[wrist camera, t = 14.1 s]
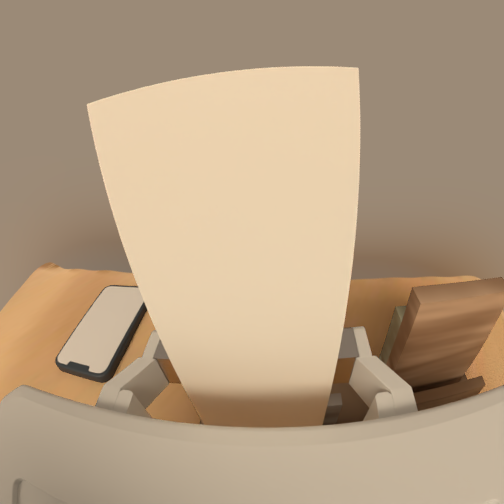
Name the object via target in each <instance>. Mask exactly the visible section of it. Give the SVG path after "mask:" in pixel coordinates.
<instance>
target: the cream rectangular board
mask: <svg viewBox="0 0 504 504" xmlns="http://www.w3.org/2000/svg"><path fill="white" fill-rule="evenodd" d="M359 95H360V93H359V72H358V68H351V67H326V66H303V67H302V66H301V67H274V68H260V69H259V68H258V69H247V70H238V71H230V72H221V73H214V74H207V75H201V76H195V77H189V78H183V79H178V80H173V81H169V82H164V83H159V84H155V85H151V86H148V87H143V88H139V89H135V90H131V91H128V92H124V93H121V94H117V95H114V96H111V97H107V98H104V99H101V100H98V101H95V102H92V103H89V104H87V108H88V113H89V119H90V124H91V129H92V134H93V139H94V143H95V148H96V152H97V156H98V161H99V165H100V168H101V173H102V177H103V180H104V184H105V188H106V191H107V195H108V199H109V202H110V205H111V209H112V212H113V216H114V219H115V222H116V225H117V228H118V231H119V234H120V237H121V240H122V243H123V246H124V249H125V252H126V255H127V258H128V261H129V264H130V266H131V269H132V272H133V274H134V277H135V280H136V282H137V285H138V288H139V290H140V293H141V295H142V298H143V300H144V303H145V305H146V308H147V310H148V312H149V315H150V317H151V319H152V322H153V324H154V326H155V329H156V331H157V333H158V335H159V338H160V340H161V342H162V344H163V346H164V349H165V351H166V353H167V355H168V357H169V359H170V361H171V363H172V365H173V367H174V369H175V371H176V373H177V375H178V377H179V379H180V381H181V383H182V385H183V387H184V389H185V391H186V393H187V395H188V397H189V399H190V400H191V402H192V404H193V406H194V408H195V410H196V411H197V413H198V415H199V417H200V419H201V420H202V422H203V424H204V425H213V426H229V427H260V428H274V427H306V426H321V425H322V424H323V421H324V417H325V413H326V409H327V405H328V401H329V396H330V392H331V388H332V383H333V379H334V374H335V369H336V364H337V359H338V354H339V349H340V344H341V338H342V333H343V327H344V321H345V315H346V308H347V301H348V295H349V287H350V280H351V272H352V263H353V254H354V244H355V233H356V221H357V209H358V208H357V207H358V191H359V170H360V168H359V167H360V96H359Z"/></svg>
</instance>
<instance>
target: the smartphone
mask: <svg viewBox="0 0 504 504" xmlns="http://www.w3.org/2000/svg"><path fill="white" fill-rule="evenodd" d="M146 311H147V308H146V305H145V303H144V300H143V298H142V295H141V293H140V290H139V288H138V286H119V285H110V286H107V287H105V288H104V289H103V290H102V292H101V293H100V294H99V296H98V297H97V298H96V300H95V301H94V303H93V304H92V305H91V307H90V308H89V310H88V311H87V312H86V314H85V315H84V317H83V318H82V319H81V321H80V322H79V324H78V325H77V327H76V328H75V330H74V331H73V332H72V334H71V335H70V337H69V338H68V340H67V341H66V343H65V344H64V346H63V348H62V349H61V351H60V352H59V354H58V355H57V357H56V360H55V362H56V365H57V366H58V367H59V369H60V370H61V371H63V372H66V373H69V374H73V375H76V376H79V377H82V378H86V379H89V380H93V381H97V382H101V383H104V382H107V381H109V380H110V379H111V378H112V377H113V375H114V373H115V371H116V369H117V367H118V365H119V363H120V361H121V359H122V357H123V355H124V353H125V351H126V349H127V347H128V345H129V343H130V341H131V339H132V337H133V335H134V333H135V331H136V330H137V328H138V326H139V324H140V322H141V320H142V318H143V316H144V314H145V312H146Z"/></svg>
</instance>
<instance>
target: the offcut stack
mask: <svg viewBox="0 0 504 504" xmlns="http://www.w3.org/2000/svg"><path fill="white" fill-rule="evenodd" d="M503 308H504V279H503V278H502V277H499V278H492V279H484V280H475V281H467V282H458V283H449V284H439V285H430V286H419V287H412V290H411V293H410V297H409V300H408V303H407V306H398V307H395V310H394V314H393V317H392V320H391V324H390V327H389V330H388V333H387V336H386V339H385V342H384V345H383V348H382V351H381V354H380V357H379V359H380V360H381V361H382V362H383V363H385V364H386V365H387V366H388V367H389V368H390V369H391V370H393V371H394V372H395V373H396V374H397V375H398V376H399V377H401V378H402V379H403V380H404V381H405V382H406V383H408V384H409V385H410V386H411V387H412V391H413V393H416V392H421V391H426V390H430V389H435V388H439V387H443V386H447V385H451V384H455V383H458V382H459V381H460V380H461V378H462V377H463V375H464V374H465V372H466V371H467V369H468V368H469V367H470V365H471V363H472V362H473V360H474V359H475V357H476V356H477V354H478V353H479V351H480V349H481V348H482V346H483V344H484V343H485V341H486V339H487V338H488V336H489V334H490V332H491V330H492V329H493V327H494V325H495V323H496V321H497V319H498V318H499V316H500V314H501V312H502V310H503Z"/></svg>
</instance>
